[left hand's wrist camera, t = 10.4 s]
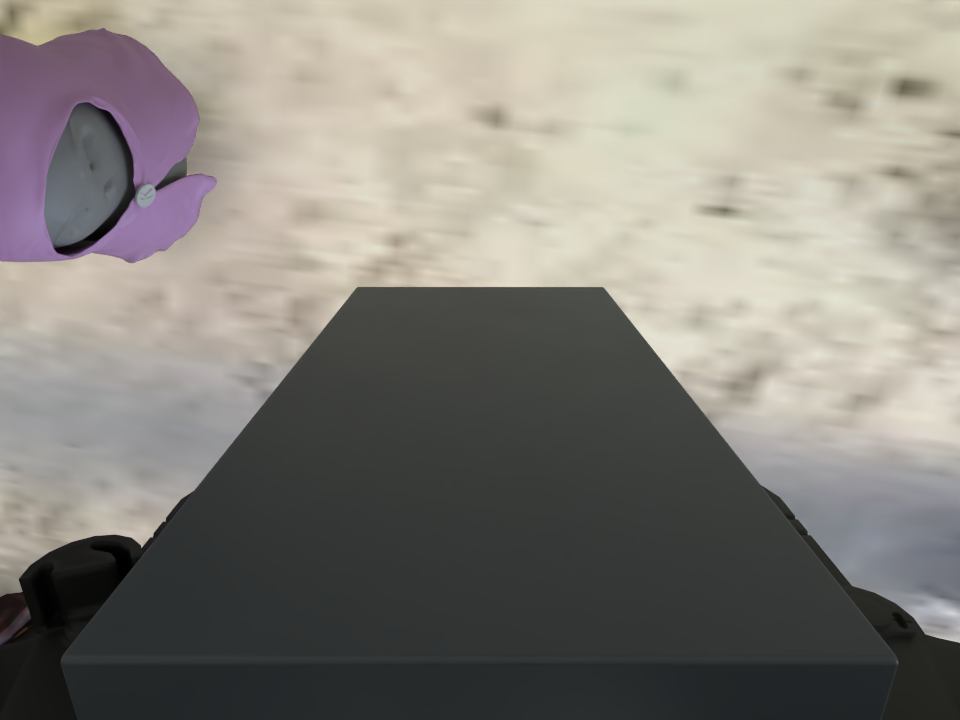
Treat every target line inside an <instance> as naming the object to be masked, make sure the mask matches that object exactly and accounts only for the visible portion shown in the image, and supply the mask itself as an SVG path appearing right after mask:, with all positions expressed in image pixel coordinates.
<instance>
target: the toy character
mask: <svg viewBox="0 0 960 720" xmlns="http://www.w3.org/2000/svg"><path fill="white" fill-rule="evenodd" d="M199 120H200V118H199V113H198V110H197V106H196V104H195V101H194V99H193V97H192V96H191V94H190V93H189V91H188V90H187V89H186V87H185V86H184V85H183V84H182V83H181V82H180V81H179V80H178V79H177V78H176V77H175V76H174V75H173V74H172V73H171V72H170V71H169V70H168V69H167V68H166V67H165V66H164V65H163V64H162V62H161V61H160V60H159V58H158V57H157V56H156V55H155V54H154V53H153V52H152V51H150V50H149V49H148V48H147V47H146V46H144V45H143V44H141V43H140V42H138V41H136V40H135V39H133V38H131V37H129V36H126V35H120V34H115V33H112V32H109V31H107V30H106V29H105V28H102V29H100V30H87V31H85V32H82V33H77V34H69V35H64V36H60V37H58V38H55V39H54V40H52V41H49V42H47V43H44V44H42V45H40V46H35V45H33V44H30V43H28V42H25V41H23V40H20V39H17V38H13V37H9V36H5V35H1V34H0V261H9V262H44V261H61V260H69V259H75V258H79V257H81V256H84V255H87V254H89V253H96V254H103V255H109V256H114V257H118V258H121V259H124V260H125V261H126V262H128V263H135V262H137V261H139V260H142V259H145V258H147V257H149V256H151V255H152V254H154V253H155V252H157V251H165V250H166V249H168V248H169V247H170V246H171V245H172V244H173V242H175V241H176V240H177V239H179V238H181V237H183V236H184V235H186V234H187V232H188V231H189V230H190V229H191V227H192V226H193V225H194V224H195V223H196V222H197V219H198V216H199V211H200V207H201V202H202V199H203V197H204V195H205V194H206V193H208V192H209V191H210V190H212V189H213V188H214V187H215V185H216V182H217V181H216V179H215V178H214V177H212V176H206V175H203V174H195V175H189V176H186V173H187V163H186V155H187V154H188V152H189V150H190V149H191V147H192V145H193V142H194V140H195V137H196V131H197V126H198V124H199Z"/></svg>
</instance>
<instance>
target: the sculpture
mask: <svg viewBox="0 0 960 720" xmlns="http://www.w3.org/2000/svg"><path fill="white" fill-rule="evenodd" d="M35 635H36V632H35V628H34V625H33V622H32V619H31V616H30V613H29V610H28V606H27V603H26V600H25V597H24V594H23V592H20V593H12V594H6V595H4V596H2V597H0V646H2V645H6V644H10V643H15V642H19V641H24V640H27V639H31V638H34V637H35Z"/></svg>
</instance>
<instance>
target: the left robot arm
mask: <svg viewBox="0 0 960 720" xmlns="http://www.w3.org/2000/svg"><path fill="white" fill-rule="evenodd" d="M762 488H763V489H764V490H765V491H766V493H767V494H768V495H769V496H770V498H771V499H772V500H773V501H774V503H775V504H776V505H777V506H778V508H779V509H780V510H781V511H782V513H783V514H784V515H785V516H786V518H787V519H788V520H789V522H790V523H791V524H792V525H793V527H794V528H795V529H796V530H797V532H798V533H799V534H800V535H801V537H802V538H803V539H804V540H805V542H806V543H807V544H808V545H809V547H810V548H811V549H812V550H813V552H814V553H815V554H816V556H817V557H818V558H819V559H820V561H821V562H822V563H823V564H824V566H825V567H826V568H827V569H828V571H829V572H830V573H831V574H832V576H833V577H834V578H835V579H836V581H837V582H838V583H839V584H840V586H841V587H842V588H843V589H844V591H845V592H846V593H847V595H848V596H849V597H850V598H851V600H852V601H853V602H854V603H855V605H856V606H857V607H858V608H859V610H860V611H861V612H862V613H863V615H864V616H865V617H866V618H867V620H868V621H869V622H870V623H871V625H872V626H873V627H874V629H875V630H876V631H877V632H878V634H879V635H880V636H881V637H882V639H883V640H884V641H885V642H886V644H887V645H888V646H889V647H890V649H891V650H892V651H893V652H894V654H895V655H896V656H897V659H898V664H899V665H898V668H897V671H896V675H895V678H894V681H893V685H892V688H891V691H890V695H889V698H888V701H887V704H886V708H885V711H884V714H883V718H882V720H960V643H958V642H953V641H949V640H944V639H940V638H936V637H932V636H929V635H925V634H924V632H923V631H922V629H921V628H920V626H919V625H918V624H917V622H916V621H915V619H914V618H913V617H912V616H911V615H909V614H908V613H907V612H906V611H904V610H903V609H902V608H901V607H899V606H898V605H897V604H895V603H893V602H891V601H890V600H888V599H886V598H884V597H882V596H880V595H878V594H876V593H873V592H870V591H867V590H863V589H860V588H857V587H853V586H851V584H850V583H849V582H848V581H847V579H846V578H845V577H844V576H843V574H842V573H841V572H840V571H839V570H838V568H837V567H836V566H835V565H834V563H833V562H832V561H831V560H830V559H829V557H828V556H827V555H826V554H825V552H824V551H823V550H822V549H821V547H820V546H819V545H818V544H817V543H816V541H815V540H814V539H813V538H812V536H811V535H808V534H807V530H806V529H805V528H804V527H803V525H802V524H801V523H800V522H799V520H795V515H794V514H793V513H792V512H791V511H790V509H789V508H788V507H787V506H786V504H785V503H784V502H783V501H782V500H781V498H780V497H778V496H777V495H775V494H774V493H772V492H771V491H769V490H768V489H766V488H765V487H763V486H762ZM193 492H194V491H193ZM193 492H192V493H193ZM192 493H190V494H189V495H187V496H186V497H184V498H183V499H181V500H180V501H179V503H178V504H177V505H176V506H175V508H174V509H173V510H172V511H171V513H170V514H169V515H168V516H167V518H166V522H162V524H161V525H160V526H159V527H158V529H157V530H156V531H155V532H154V536H153V538H150V539H149V540H148V541H147V542H146V544H145V545H144V546H143V547H142V548H141V545H140V544H138V543H137V542H136V541H135V540H134V539H132V538H130V537H125V536H120V535H104V536H93V537H90V538H86V539H82V540H78V541H74V542H71V543H69V544H67V545H64V546H62V547H60V548H58V549H55V550H53V551H51V552H49V553H48V554H46V555H45V556H43V557H42V558H40V559H39V560H37V561H36V562H34V563H33V564H32V565H30V567H29V568H28V569H27V570H26V571H25V572H24V574H23V575H22V576H21V577H20V578H19V581H20V584H21V588H22V591H23V594H24V597H25V600H26V603H27V606H28V610H29V613H30V616H31V619H32V622H33V625H34V628H35V632H36V635H35V637H34V638H31V639H27V640H24V641H19V642H15V643H10V644H6V645H2V646H0V720H77V717H76V714H75V710H74V707H73V704H72V700H71V697H70V694H69V690H68V687H67V684H66V680H65V677H64V674H63V671H62V667H61V664H60V663H61V658H62V656H63V654H64V653H65V652H66V650H67V649H68V648H69V647H70V645H71V644H72V643H73V642H74V640H75V639H76V638H77V637H78V635H79V634H80V633H81V632H82V630H83V629H84V628H85V627H86V625H87V624H88V623H89V622H90V620H91V619H92V618H93V617H94V615H95V614H96V613H97V612H98V610H99V609H100V608H101V607H102V605H103V604H104V603H105V602H106V600H107V599H108V598H109V597H110V595H111V594H112V593H113V592H114V590H115V589H116V588H117V587H118V586H119V584H120V583H121V582H122V581H123V579H124V578H125V577H126V576H127V574H128V573H129V572H130V571H131V569H132V568H133V567H134V566H135V564H136V563H137V562H138V561H139V559H140V558H141V557H142V556H143V554H144V553H145V552H146V551H147V549H148V548H149V547H150V546H151V544H152V543H153V542H154V541H155V539H156V538H157V537H158V536H159V534H160V533H161V532H162V531H163V529H164V528H165V527H166V526H167V524H168V523H169V522H170V521H171V519H172V518H173V517H174V516H175V514H176V513H177V512H178V511H179V509H180V508H181V507H182V506H183V504H184V503H185V502H186V501H187V499H188V498H189V497H190V496H191V494H192Z"/></svg>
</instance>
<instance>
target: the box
mask: <svg viewBox="0 0 960 720" xmlns="http://www.w3.org/2000/svg"><path fill="white" fill-rule="evenodd" d="M60 664H61V667H62V671H63V674H64V677H65V680H66V684H67V687H68V690H69V694H70V697H71V700H72V704H73V707H74V710H75V714H76V717H77V720H882V718H883V714H884V711H885V708H886V704H887V701H888V698H889V695H890V691H891V688H892V685H893V681H894V678H895V675H896V671H897V668H898V665H899V664H898V659H897V656H896V655H895V654H894V652H893V651H892V650H891V649H890V647H889V646H888V645H887V644H886V642H885V641H884V640H883V639H882V637H881V636H880V635H879V634H878V632H877V631H876V630H875V629H874V627H873V626H872V625H871V623H870V622H869V621H868V620H867V618H866V617H865V616H864V615H863V613H862V612H861V611H860V610H859V608H858V607H857V606H856V605H855V603H854V602H853V601H852V600H851V598H850V597H849V596H848V595H847V593H846V592H845V591H844V589H843V588H842V587H841V586H840V584H839V583H838V582H837V581H836V579H835V578H834V577H833V576H832V574H831V573H830V572H829V571H828V569H827V568H826V567H825V566H824V564H823V563H822V562H821V561H820V559H819V558H818V557H817V556H816V554H815V553H814V552H813V550H812V549H811V548H810V547H809V545H808V544H807V543H806V542H805V540H804V539H803V538H802V537H801V535H800V534H799V533H798V532H797V530H796V529H795V528H794V527H793V525H792V524H791V523H790V522H789V520H788V519H787V518H786V516H785V515H784V514H783V513H782V511H781V510H780V509H779V508H778V506H777V505H776V504H775V503H774V501H773V500H772V499H771V498H770V496H769V495H768V494H767V493H766V491H765V490H764V489H763V488H762V486H761V485H760V484H759V483H758V481H757V480H756V479H755V477H754V476H753V475H752V474H751V472H750V471H749V470H748V469H747V467H746V466H745V465H744V464H743V462H742V461H741V460H740V459H739V457H738V456H737V455H736V454H735V452H734V451H733V450H732V449H731V447H730V446H729V445H728V443H727V442H726V441H725V440H724V438H723V437H722V436H721V435H720V433H719V432H718V431H717V430H716V428H715V427H714V426H713V425H712V423H711V422H710V421H709V420H708V418H707V417H706V416H705V415H704V413H703V412H702V411H701V410H700V408H699V407H698V406H697V404H696V403H695V402H694V401H693V399H692V398H691V397H690V396H689V394H688V393H687V392H686V391H685V389H684V388H683V387H682V386H681V384H680V383H679V382H678V381H677V379H676V378H675V377H674V376H673V374H672V373H671V372H670V370H669V369H668V368H667V367H666V365H665V364H664V363H663V362H662V360H661V359H660V358H659V357H658V355H657V354H656V353H655V352H654V350H653V349H652V348H651V347H650V345H649V344H648V343H647V342H646V340H645V339H644V338H643V337H642V335H641V334H640V333H639V331H638V330H637V329H636V328H635V326H634V325H633V324H632V323H631V321H630V320H629V319H628V318H627V316H626V315H625V314H624V313H623V311H622V310H621V309H620V308H619V306H618V305H617V304H616V303H615V301H614V300H613V299H612V297H611V296H610V295H609V294H608V292H607V291H606V290H605V289H604V288H603V287H357V288H356V289H355V291H354V292H353V293H352V294H351V296H350V297H349V298H348V299H347V301H346V302H345V303H344V304H343V306H342V307H341V308H340V309H339V311H338V312H337V313H336V314H335V316H334V317H333V318H332V319H331V321H330V322H329V323H328V324H327V326H326V327H325V328H324V329H323V331H322V332H321V333H320V334H319V336H318V337H317V338H316V339H315V341H314V342H313V343H312V344H311V346H310V347H309V348H308V349H307V351H306V352H305V353H304V354H303V356H302V357H301V358H300V359H299V361H298V362H297V363H296V364H295V366H294V367H293V368H292V369H291V371H290V372H289V373H288V374H287V376H286V377H285V378H284V379H283V381H282V382H281V383H280V384H279V386H278V387H277V388H276V389H275V391H274V392H273V393H272V394H271V396H270V397H269V398H268V399H267V401H266V402H265V403H264V404H263V406H262V407H261V408H260V409H259V411H258V412H257V413H256V414H255V416H254V417H253V418H252V419H251V421H250V422H249V423H248V424H247V426H246V427H245V428H244V429H243V431H242V432H241V433H240V434H239V436H238V437H237V438H236V439H235V441H234V442H233V443H232V444H231V446H230V447H229V448H228V449H227V451H226V452H225V453H224V454H223V456H222V457H221V458H220V459H219V461H218V462H217V463H216V464H215V466H214V467H213V468H212V469H211V471H210V472H209V473H208V474H207V476H206V477H205V478H204V479H203V481H202V482H201V483H200V484H199V486H198V487H197V488H196V489H195V491H194V492H193V493H192V494H191V496H190V497H189V498H188V499H187V501H186V502H185V503H184V504H183V506H182V507H181V508H180V509H179V511H178V512H177V513H176V514H175V516H174V517H173V518H172V519H171V521H170V522H169V523H168V524H167V526H166V527H165V528H164V529H163V531H162V532H161V533H160V534H159V536H158V537H157V538H156V539H155V541H154V542H153V543H152V544H151V546H150V547H149V548H148V549H147V551H146V552H145V553H144V554H143V556H142V557H141V558H140V559H139V561H138V562H137V563H136V564H135V566H134V567H133V568H132V569H131V571H130V572H129V573H128V574H127V576H126V577H125V578H124V579H123V581H122V582H121V583H120V584H119V586H118V587H117V588H116V589H115V590H114V592H113V593H112V594H111V595H110V597H109V598H108V599H107V600H106V602H105V603H104V604H103V605H102V607H101V608H100V609H99V610H98V612H97V613H96V614H95V615H94V617H93V618H92V619H91V620H90V622H89V623H88V624H87V625H86V627H85V628H84V629H83V630H82V632H81V633H80V634H79V635H78V637H77V638H76V639H75V640H74V642H73V643H72V644H71V645H70V647H69V648H68V649H67V650H66V652H65V653H64V654H63V656H62V658H61V663H60Z"/></svg>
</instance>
